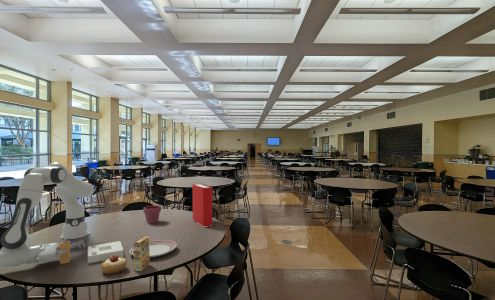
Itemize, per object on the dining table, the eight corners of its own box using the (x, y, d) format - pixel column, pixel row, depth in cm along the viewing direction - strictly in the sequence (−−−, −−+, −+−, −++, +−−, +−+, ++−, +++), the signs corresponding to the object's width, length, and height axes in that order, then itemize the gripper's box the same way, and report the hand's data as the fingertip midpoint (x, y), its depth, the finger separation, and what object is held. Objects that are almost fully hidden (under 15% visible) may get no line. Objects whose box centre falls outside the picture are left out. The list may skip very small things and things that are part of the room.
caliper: (84, 248, 175) (84, 238, 175) (84, 248, 174) (84, 238, 174) (45, 255, 164) (44, 244, 164) (44, 255, 163) (44, 245, 163)
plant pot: (152, 219, 245) (152, 204, 245) (164, 220, 239) (164, 206, 239) (140, 223, 232) (139, 208, 232) (152, 224, 226) (152, 209, 226)
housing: (88, 252, 167) (87, 245, 167) (120, 247, 176) (120, 240, 176) (87, 263, 151) (87, 255, 151) (123, 256, 160) (123, 249, 160)
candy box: (141, 271, 141) (141, 242, 141) (133, 271, 141) (133, 241, 141) (149, 264, 150) (149, 236, 149) (142, 264, 150) (142, 236, 150)
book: (192, 220, 241) (192, 183, 241) (201, 218, 245) (201, 183, 245) (203, 227, 218) (203, 187, 217) (213, 226, 222) (212, 187, 221)
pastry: (125, 264, 150) (126, 248, 151) (127, 273, 140) (127, 255, 140) (100, 268, 145) (101, 251, 145) (100, 277, 134) (101, 259, 135)
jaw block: (60, 261, 154) (60, 238, 154) (70, 259, 156) (70, 237, 156) (60, 264, 150) (59, 240, 150) (69, 262, 153) (69, 239, 152)
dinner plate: (119, 260, 156) (119, 254, 156) (144, 243, 183) (144, 238, 183) (165, 262, 152) (165, 256, 152) (183, 245, 180) (183, 240, 180)
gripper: (32, 254, 138) (65, 249, 145) (39, 242, 155) (68, 238, 162) (33, 267, 138) (65, 261, 145) (39, 253, 156) (68, 249, 162)
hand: (67, 249), depth 154 cm, fingers closed on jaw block, 4 cm apart
